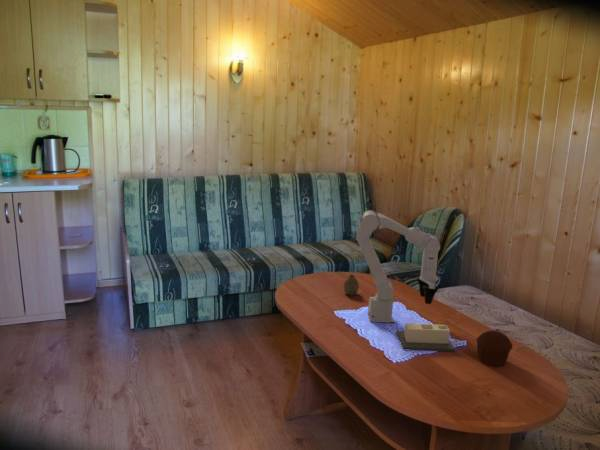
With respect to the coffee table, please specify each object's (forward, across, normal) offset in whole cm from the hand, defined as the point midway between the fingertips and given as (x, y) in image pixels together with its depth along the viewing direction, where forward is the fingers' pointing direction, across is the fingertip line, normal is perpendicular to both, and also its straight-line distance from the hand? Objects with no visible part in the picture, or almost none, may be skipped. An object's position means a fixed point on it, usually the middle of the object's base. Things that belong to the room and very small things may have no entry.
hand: (425, 300), depth 196 cm
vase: (+10, +29, +26) cm, 40 cm away
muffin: (+10, -30, -16) cm, 35 cm away
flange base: (+9, -18, +4) cm, 21 cm away
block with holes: (+8, -18, +4) cm, 20 cm away
